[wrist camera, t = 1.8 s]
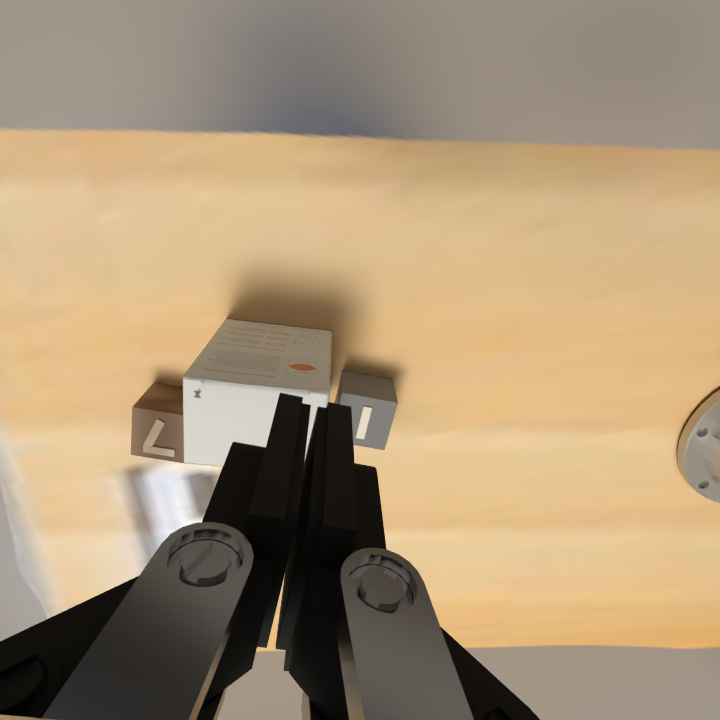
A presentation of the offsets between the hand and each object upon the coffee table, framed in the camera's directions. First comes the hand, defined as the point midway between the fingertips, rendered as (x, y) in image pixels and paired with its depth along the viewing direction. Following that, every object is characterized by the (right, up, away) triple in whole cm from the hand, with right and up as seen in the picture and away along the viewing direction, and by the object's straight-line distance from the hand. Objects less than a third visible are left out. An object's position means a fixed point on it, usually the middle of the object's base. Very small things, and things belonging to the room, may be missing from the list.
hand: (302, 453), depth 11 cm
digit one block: (+2, -1, +26) cm, 26 cm away
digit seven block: (-13, -2, +26) cm, 29 cm away
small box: (-5, +2, +25) cm, 25 cm away
